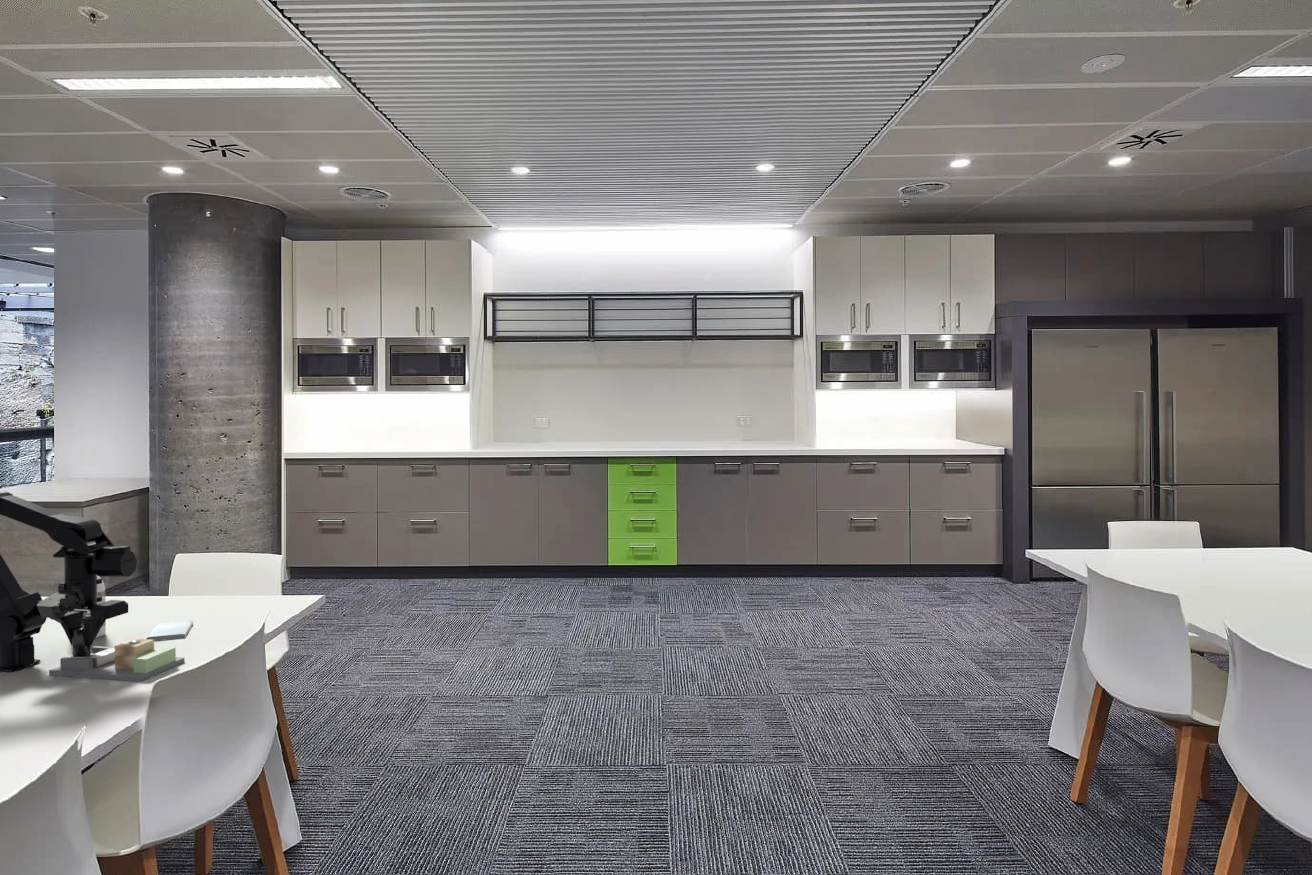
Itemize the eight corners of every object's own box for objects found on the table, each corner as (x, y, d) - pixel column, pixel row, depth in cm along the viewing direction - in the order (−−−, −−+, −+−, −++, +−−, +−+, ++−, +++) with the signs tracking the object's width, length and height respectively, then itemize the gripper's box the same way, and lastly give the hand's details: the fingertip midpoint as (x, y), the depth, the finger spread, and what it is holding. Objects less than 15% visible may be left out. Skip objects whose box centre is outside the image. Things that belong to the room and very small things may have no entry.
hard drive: (185, 633, 182) (193, 619, 193) (146, 637, 178) (156, 623, 190) (185, 640, 182) (193, 626, 193) (146, 643, 178) (156, 629, 190)
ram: (62, 664, 159) (62, 631, 158) (87, 655, 164) (87, 623, 164) (97, 666, 157) (97, 633, 157) (121, 657, 163) (120, 625, 163)
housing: (114, 668, 157) (114, 644, 157) (134, 660, 162) (133, 637, 162) (135, 669, 157) (135, 645, 157) (154, 661, 162) (154, 638, 162)
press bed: (48, 674, 156) (48, 656, 155) (98, 656, 168) (98, 639, 167) (140, 681, 153) (140, 662, 153) (184, 661, 165) (184, 644, 165)
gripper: (7, 582, 154) (8, 655, 154) (85, 587, 151) (85, 660, 152) (57, 571, 165) (57, 638, 165) (130, 575, 162) (130, 643, 163)
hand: (81, 645), depth 161 cm, fingers closed on ram, 3 cm apart
